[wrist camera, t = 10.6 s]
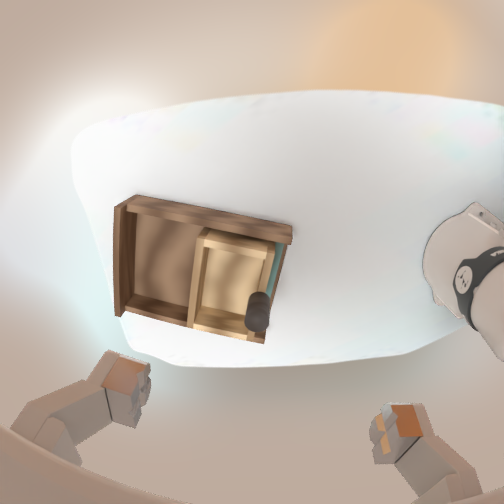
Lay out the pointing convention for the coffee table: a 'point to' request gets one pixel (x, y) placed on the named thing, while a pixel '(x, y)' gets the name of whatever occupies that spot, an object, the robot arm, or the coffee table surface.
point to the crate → (230, 284)
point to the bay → (174, 254)
